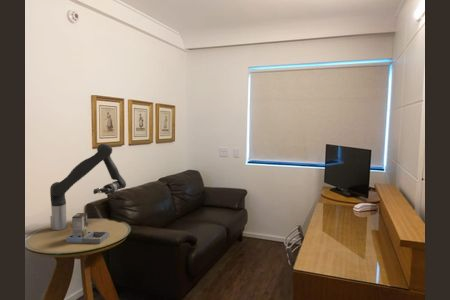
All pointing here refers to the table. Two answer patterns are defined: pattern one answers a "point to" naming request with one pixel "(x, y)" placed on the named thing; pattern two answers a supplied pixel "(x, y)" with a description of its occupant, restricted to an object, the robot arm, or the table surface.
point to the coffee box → (80, 225)
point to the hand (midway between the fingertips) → (100, 192)
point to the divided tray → (89, 237)
